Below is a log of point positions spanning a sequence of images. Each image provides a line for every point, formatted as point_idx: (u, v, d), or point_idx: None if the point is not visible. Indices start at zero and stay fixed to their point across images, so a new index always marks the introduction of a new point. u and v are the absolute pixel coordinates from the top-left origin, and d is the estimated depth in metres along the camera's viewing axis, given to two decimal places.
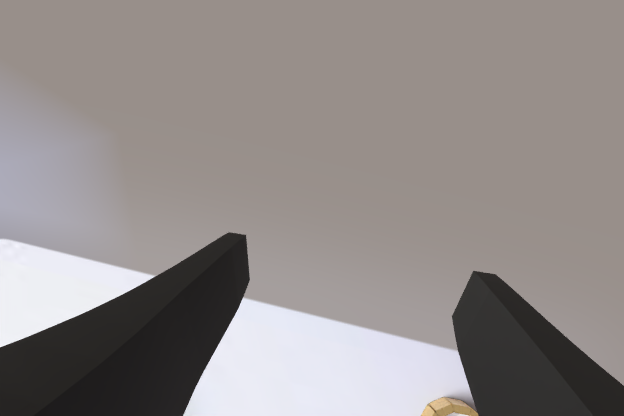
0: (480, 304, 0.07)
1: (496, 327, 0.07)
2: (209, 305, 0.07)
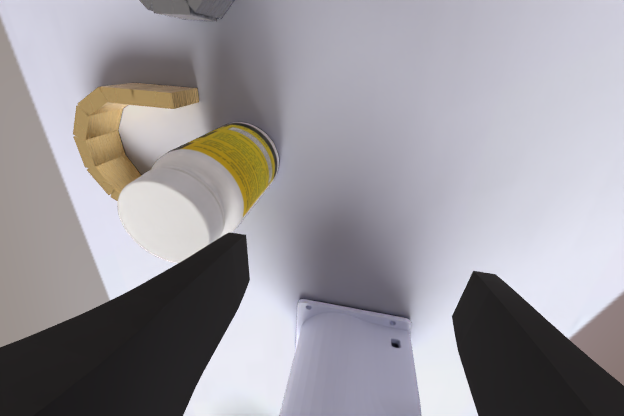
0: (480, 304, 0.07)
1: (496, 327, 0.07)
2: (209, 305, 0.07)
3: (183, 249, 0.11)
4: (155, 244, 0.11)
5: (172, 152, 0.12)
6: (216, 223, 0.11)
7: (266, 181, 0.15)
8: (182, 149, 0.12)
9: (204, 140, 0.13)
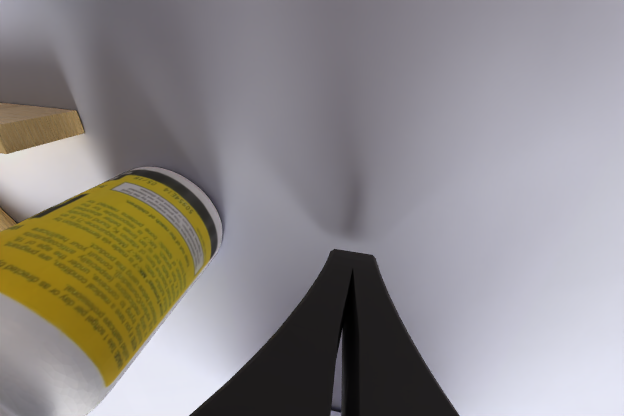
0: (350, 282, 0.08)
1: (351, 301, 0.07)
2: (340, 331, 0.07)
3: None
4: None
5: None
6: None
7: (187, 276, 0.09)
8: None
9: (26, 231, 0.06)
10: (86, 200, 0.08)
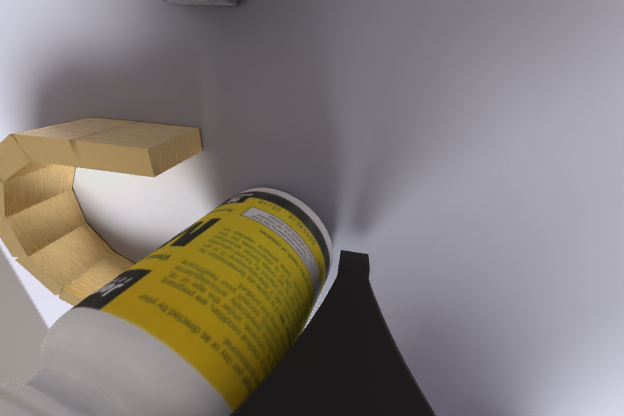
0: None
1: None
2: None
3: None
4: None
5: (78, 320, 0.05)
6: None
7: (308, 317, 0.08)
8: (102, 313, 0.05)
9: (176, 264, 0.06)
10: (221, 227, 0.07)
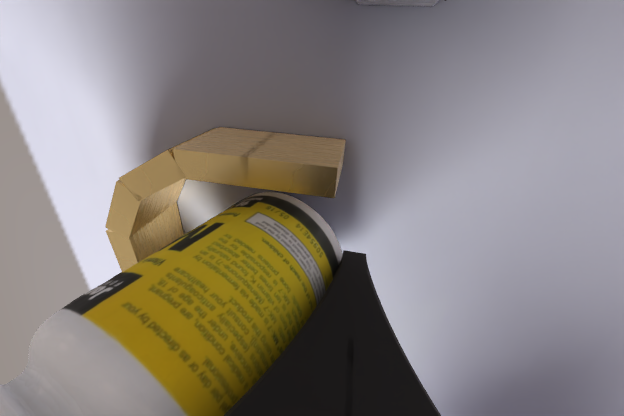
0: None
1: None
2: None
3: None
4: None
5: (59, 324, 0.04)
6: None
7: None
8: (83, 320, 0.04)
9: (168, 271, 0.05)
10: (222, 233, 0.07)
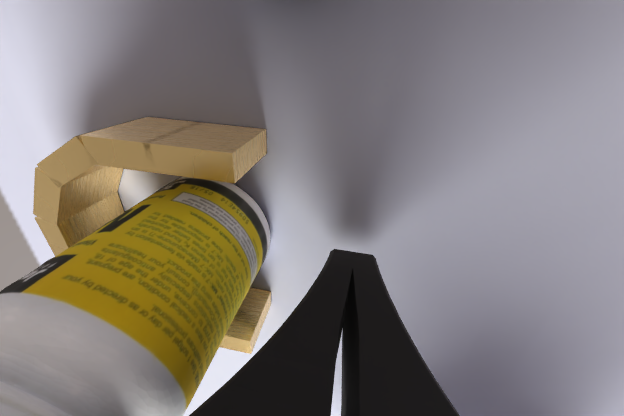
0: (350, 281, 0.08)
1: (351, 301, 0.07)
2: (340, 331, 0.07)
3: None
4: None
5: None
6: None
7: (245, 289, 0.09)
8: (24, 295, 0.05)
9: (103, 247, 0.06)
10: (151, 212, 0.07)
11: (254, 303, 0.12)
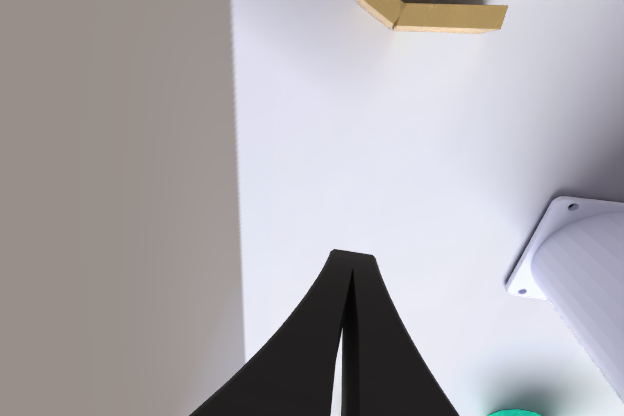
0: (350, 282, 0.08)
1: (351, 301, 0.07)
2: (340, 331, 0.07)
3: None
4: None
5: None
6: None
7: None
8: None
9: None
10: None
11: None
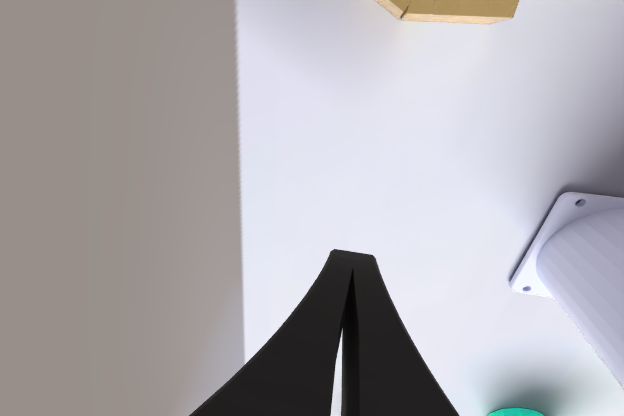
0: (350, 282, 0.08)
1: (351, 301, 0.07)
2: (340, 331, 0.07)
3: None
4: None
5: None
6: None
7: None
8: None
9: None
10: None
11: None
